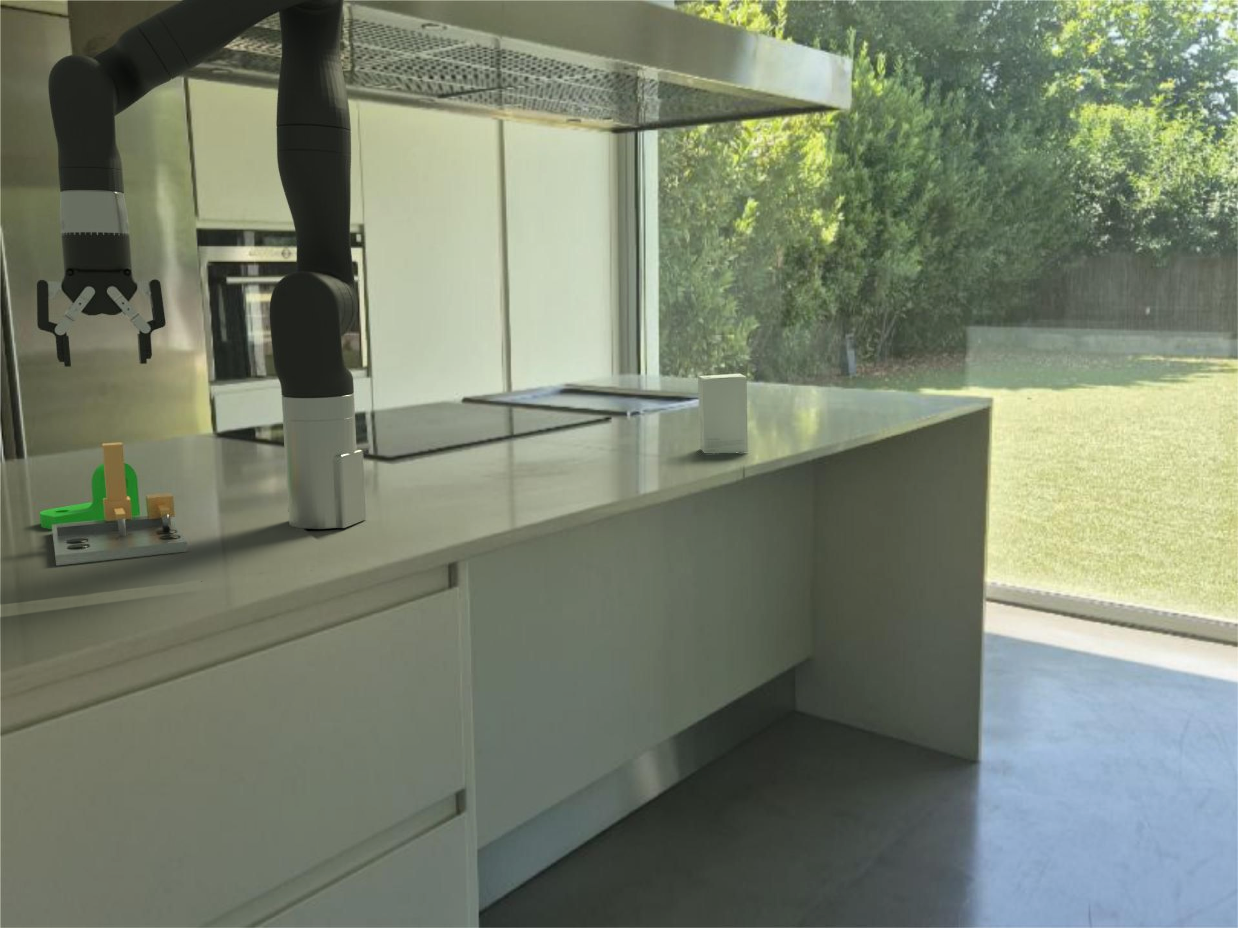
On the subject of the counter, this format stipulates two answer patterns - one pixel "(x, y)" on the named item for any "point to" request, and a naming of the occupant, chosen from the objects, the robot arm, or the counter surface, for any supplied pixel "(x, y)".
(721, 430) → the skincare box
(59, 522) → the mechanical part
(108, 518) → the leg
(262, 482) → the counter surface
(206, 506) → the counter surface
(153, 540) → the plate
